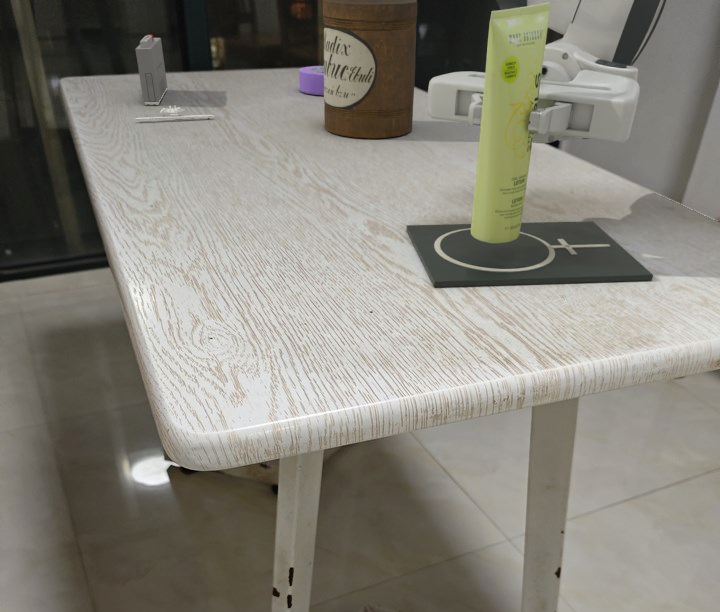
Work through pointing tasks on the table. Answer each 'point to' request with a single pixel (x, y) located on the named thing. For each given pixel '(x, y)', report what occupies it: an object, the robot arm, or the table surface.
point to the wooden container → (369, 67)
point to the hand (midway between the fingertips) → (505, 119)
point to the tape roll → (312, 80)
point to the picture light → (176, 113)
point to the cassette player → (151, 68)
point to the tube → (508, 120)
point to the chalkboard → (524, 256)
